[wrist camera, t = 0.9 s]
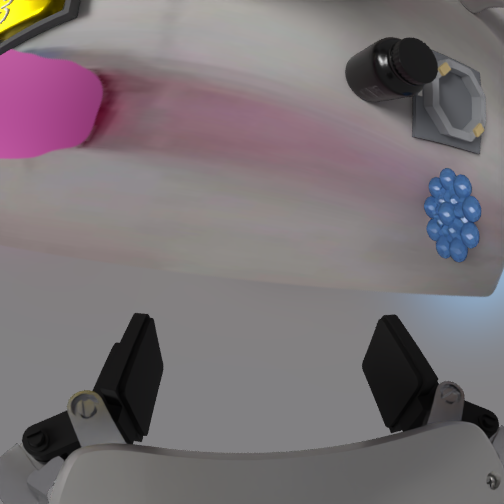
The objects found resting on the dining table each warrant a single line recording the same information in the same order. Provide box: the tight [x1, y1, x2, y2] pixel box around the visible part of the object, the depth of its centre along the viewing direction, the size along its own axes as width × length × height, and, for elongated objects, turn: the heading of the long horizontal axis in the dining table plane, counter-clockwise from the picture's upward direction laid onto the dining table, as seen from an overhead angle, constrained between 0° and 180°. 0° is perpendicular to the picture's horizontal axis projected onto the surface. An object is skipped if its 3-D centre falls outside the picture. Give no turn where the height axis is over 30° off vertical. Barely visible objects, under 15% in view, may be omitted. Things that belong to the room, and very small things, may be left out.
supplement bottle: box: [345, 37, 438, 102], centre depth 23 cm, size 7×7×12 cm
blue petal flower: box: [424, 168, 481, 262], centre depth 30 cm, size 12×7×12 cm, turn 177°
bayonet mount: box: [412, 50, 486, 154], centre depth 27 cm, size 14×14×4 cm
